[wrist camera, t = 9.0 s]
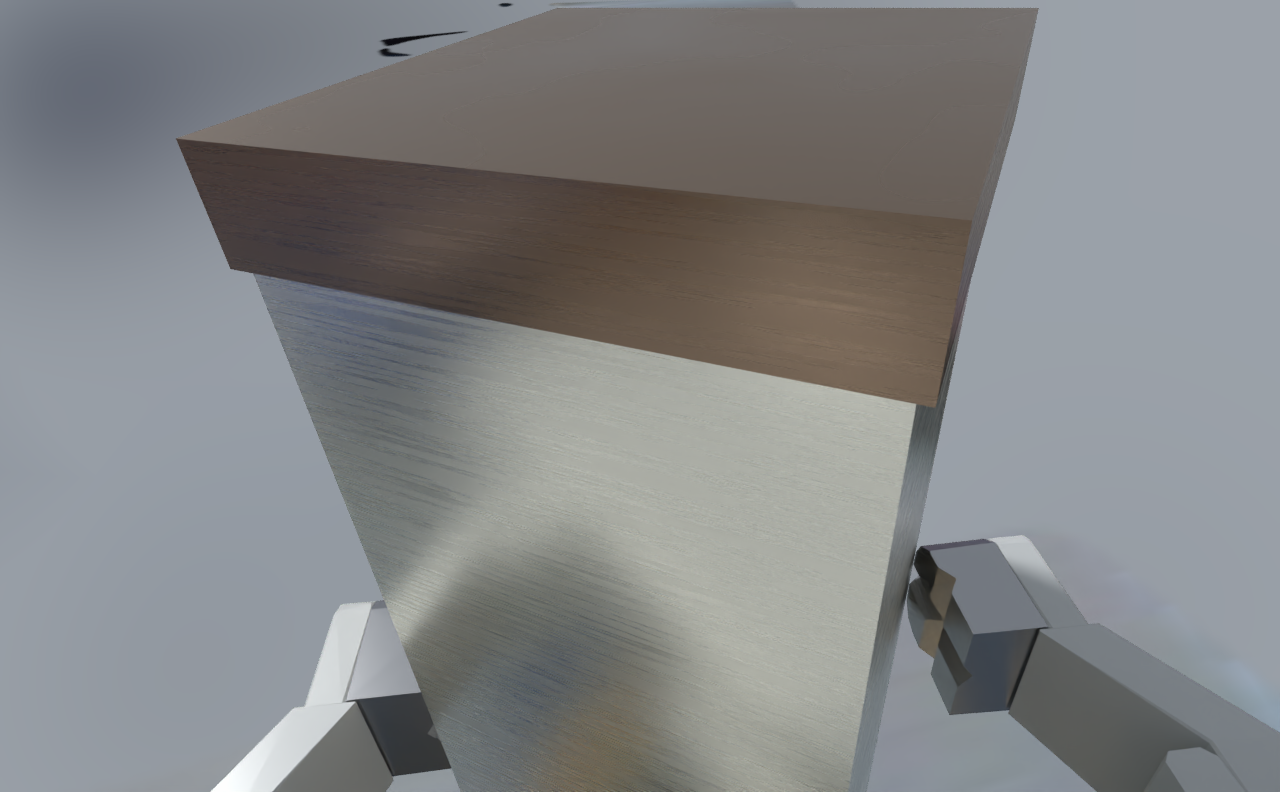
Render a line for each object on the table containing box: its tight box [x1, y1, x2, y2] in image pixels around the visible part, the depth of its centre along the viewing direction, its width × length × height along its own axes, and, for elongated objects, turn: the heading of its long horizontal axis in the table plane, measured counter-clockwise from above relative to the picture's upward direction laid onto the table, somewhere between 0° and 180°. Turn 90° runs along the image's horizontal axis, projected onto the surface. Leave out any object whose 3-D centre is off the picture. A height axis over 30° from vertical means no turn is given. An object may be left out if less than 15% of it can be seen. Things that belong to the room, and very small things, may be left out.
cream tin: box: [176, 8, 1038, 792], centre depth 11 cm, size 5×5×16 cm
